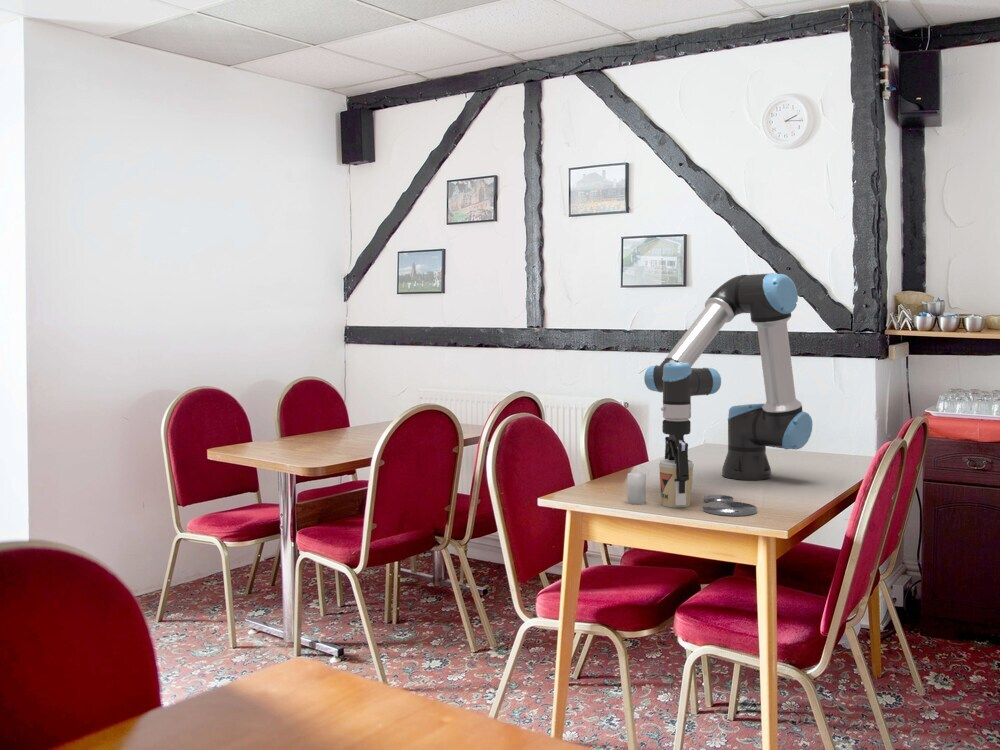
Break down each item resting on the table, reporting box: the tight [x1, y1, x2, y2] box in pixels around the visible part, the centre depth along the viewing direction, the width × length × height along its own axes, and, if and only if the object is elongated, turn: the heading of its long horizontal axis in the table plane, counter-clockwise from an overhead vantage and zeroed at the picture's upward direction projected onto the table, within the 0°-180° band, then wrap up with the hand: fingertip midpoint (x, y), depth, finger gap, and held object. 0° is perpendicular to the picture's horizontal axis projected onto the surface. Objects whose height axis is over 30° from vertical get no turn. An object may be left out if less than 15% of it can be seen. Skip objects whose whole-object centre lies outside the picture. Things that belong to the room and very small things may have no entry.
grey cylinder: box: [627, 471, 647, 505], centre depth 256 cm, size 5×5×8 cm
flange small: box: [703, 494, 734, 503], centre depth 257 cm, size 8×8×1 cm
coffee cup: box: [658, 458, 695, 509], centre depth 252 cm, size 9×9×12 cm
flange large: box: [702, 501, 758, 517], centre depth 245 cm, size 14×14×1 cm
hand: (675, 501), depth 253 cm, fingers open, 9 cm apart
